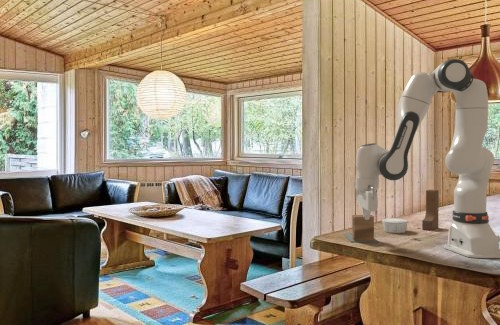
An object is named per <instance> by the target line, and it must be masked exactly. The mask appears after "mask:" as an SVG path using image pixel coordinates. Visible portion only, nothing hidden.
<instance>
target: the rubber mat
mask: <svg viewBox="0 0 500 325" xmlns="http://www.w3.org/2000/svg"><path fill="white" fill-rule="evenodd" d="M343 235H344V237H345V238H346V239H347V240H348V242H350V243H379V240H377V239H376V238H375V237H374V241H354V240H353V239H352V233H349V232H347V233H345V232H344V233H343Z"/></svg>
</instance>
